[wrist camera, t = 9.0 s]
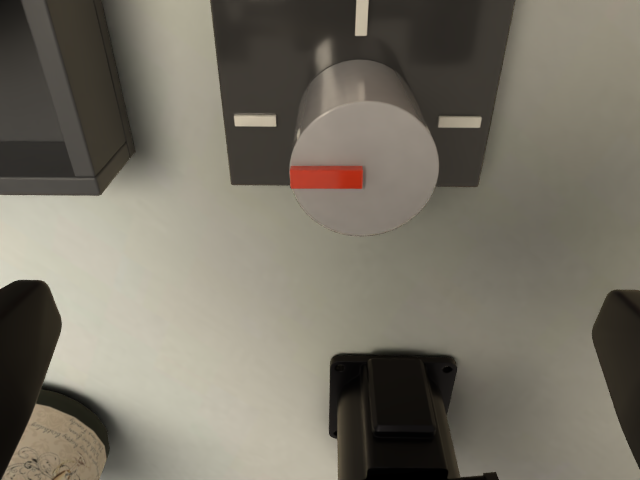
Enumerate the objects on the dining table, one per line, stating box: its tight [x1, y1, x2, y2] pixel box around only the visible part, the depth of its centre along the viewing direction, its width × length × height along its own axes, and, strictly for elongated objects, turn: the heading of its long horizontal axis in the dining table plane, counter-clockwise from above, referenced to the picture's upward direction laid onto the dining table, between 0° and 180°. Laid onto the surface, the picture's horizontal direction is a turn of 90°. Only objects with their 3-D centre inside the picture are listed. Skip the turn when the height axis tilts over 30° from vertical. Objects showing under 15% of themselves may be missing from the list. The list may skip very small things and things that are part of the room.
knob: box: [289, 60, 439, 236], centre depth 15 cm, size 4×4×4 cm
